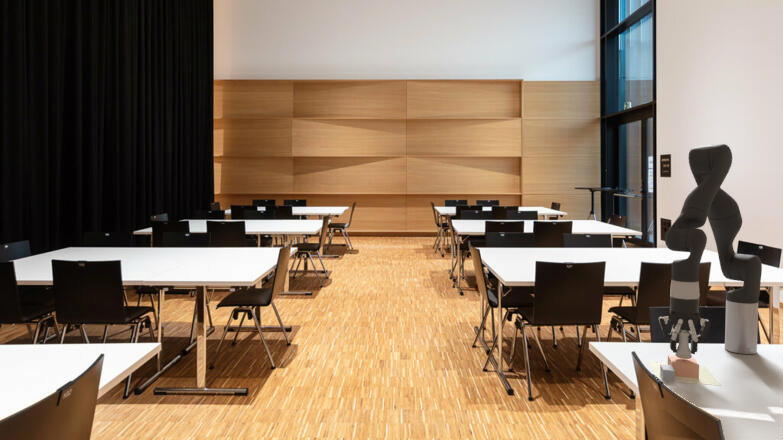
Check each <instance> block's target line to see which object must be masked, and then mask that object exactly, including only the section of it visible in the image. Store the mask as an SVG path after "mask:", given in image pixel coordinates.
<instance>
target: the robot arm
mask: <svg viewBox="0 0 783 440" xmlns="http://www.w3.org/2000/svg"><path fill="white" fill-rule="evenodd" d="M688 164H689V169H690V171H691V173H692V176H693V178H694V181H695V183H696V187H695V188H694V189H692V191H691V192H690V193H689V194H688V195H687V197H686V198H685V199H684V202H683V205H682V209H681V210H680V214H679V215H678V217H677V218H676V219H675V221H674V222H673V223H672V224H671V225H670V227H669V228H668V230H667V232H666V234H665V237H664V243H665V245H666V247H667V249H669V250H670V251H673V252H681V253H682V252H683V253H689V256H688V257H687V258H682V259H676V260H673V261H672V263H671V282H670V290H669V291H670V292H669V296H670V297H669V313H668V315H667V316H666V315H665V316H658V321H659V325H660V328H661V331H662V334H663V336H664V338H666V339H669V342H670V343H669V348H670V350H671V351H672V353H674V354H676V349H677V338H678V335H679V334H678V333H679V330H683V331H684V330H686V331H687V330H689V333H690V337H691V340H690V351H691V352H692V354H691V355H695V354H696V353H697V352H698V343H699V342H700V341H704V340H705V339H706V337H707V335H708V332H709V330H710V327H711V325H712V323H711V321H710V320H709V319H707V318H701V316H700V296H701V293H700V284H699V283H700V282H699V279H700V273H699V272H700V265H701V260H702V257H703V254H704V251H705V249H706V247H707V241H708V239H707V238H708V237H707V234H706V232H705V231H704V230H703V229H701V228H702V227H704V226H705V224H706V222H707V221H708V223H709V225H710V229H711V231H712V234H713V237H714V238H713V239H714V242H715V245H716V250H717V256H718V261H719V262H718V263H719V265H720V270H721V272H722V275H723V277H725V278H726V279H727V280H731V281H738V282H743V285H742V287H740V288H736V289H731V290H728V291H726V293H725V295H726V296H725V322H724V323H725V329H724V330H725V331H724V332H725V333H724V350H725V351H728V352H731V353H735V354H742V355H753V354H757V353H758V351H757V350H758V331H759V330H758V325H759V324H758V321H759V297H760V293H761V281H762V270H763V266H762V264H763V263H762V259H761V258H760V257H759V256H758V255H754V254H747V253H746V254H744V253H736V251H735V250H734V244H733V243H734V240H735V239H736V237H737V235H738V234H739V232H740V230H741V228H742V225H743V217H742V214H741V210H740V207H739V204H738V202H737V201H736V199H735V198H733V197H732V196H731V195H730V194H729V193H728V192H726V191H725V190H724V189H723V188H721V186H722V185H723V182H724V181H725V180H726V177H727V175H728V174H729V171H730V169H731V168H732V164H733V153H732V150H731V148H730V146H729V145H727V144H726V143H718V144H717V143H716V144H710V145H709V144H708V145H700V146H699V145H698V146H694V147H693V148H691V149H690V150H689V153H688ZM668 321H670V323H671V324H672V327H671V331H670V333H669V332H668V328H667V324H668ZM699 323H700V325H701V327H700V330H699V334H697V332H696V327H697V325H698V324H699Z"/></svg>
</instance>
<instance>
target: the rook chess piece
mask: <svg viewBox="0 0 783 440" xmlns="http://www.w3.org/2000/svg"><path fill="white" fill-rule="evenodd" d="M677 335H678V346H676V353H674V354H675V355H674V356H676V357H678V358H682V359H690V358H691V357H693V354H692V352H691V348H690V346H689V344H690V343H689V340H690V338H689V336H691V334H690V332H689V330H679V333H678V334H677Z"/></svg>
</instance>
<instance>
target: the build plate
mask: <svg viewBox="0 0 783 440" xmlns="http://www.w3.org/2000/svg"><path fill="white" fill-rule="evenodd" d="M648 363H649V365H650V367H651V369H652V371H653V373H654V376H655V375H656V376H657V377H658V378H659V379H661V380H660V381H664V382H665V381H666V380H663V379H662V377H661V375H660V364H662V365H668V363H662V362H648ZM656 376H655V377H656ZM666 382H667V381H666ZM674 382H678V383H687V384H688V383H689V384H699V385H708V386H719V387H721V386H722V385H721V384H720V383H719V381H718V380H717V378H716V377H715V376H714V375H713V374H712V372H711V371H710V369H709V368H708V367H707V366H700V365H699V378H689V377H678V376H675V381H674Z"/></svg>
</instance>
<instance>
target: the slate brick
mask: <svg viewBox="0 0 783 440" xmlns="http://www.w3.org/2000/svg"><path fill="white" fill-rule="evenodd" d="M660 375H661V377H662V379H663V380H662V381H664V380H666V382H675V370H674V368H673V367H672V365H662V364H660Z"/></svg>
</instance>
